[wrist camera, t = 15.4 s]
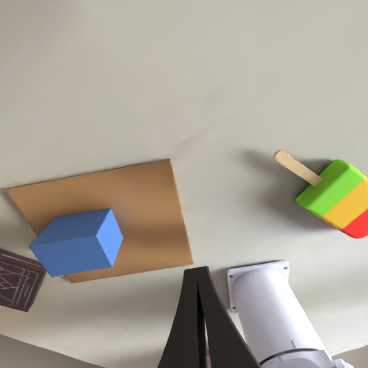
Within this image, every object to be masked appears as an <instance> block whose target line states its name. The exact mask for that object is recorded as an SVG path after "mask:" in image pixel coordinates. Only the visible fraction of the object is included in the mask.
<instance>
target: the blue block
mask: <svg viewBox="0 0 368 368" xmlns="http://www.w3.org/2000/svg"><path fill="white" fill-rule="evenodd" d="M122 239H123V236H122V233H121V231H120V229H119V226H118V224H117V222H116V219H115V217H114V214H113V212H112V210H111V208H110V209H104V210H98V211H93V212H87V213H81V214H75V215H69V216H64V217H58V218H55V219H54V220H53V221H52V222H51V223H50V224H49V225H48V226H47V227H46V228H45V229H44V231H43V232H42V233H41V234H40V235H39V236H38V237H37V238H36V239H35V240H34V241H33V242H32V243H31V244H30V245H29V248H30V249H31V250H32V252H33V253H34V254H35V256H36V257H37V258H38V260H39V261H40V262H41V264H42V265H43V266H44V268H45V269H46V270H47V272H48V273H49V274H50V276H51V277H54V276H60V275H66V274H73V273H79V272H85V271H92V270H98V269H104V268H111V267H113V265H114V262H115V259H116V256H117V253H118V250H119V248H120V245H121V242H122Z"/></svg>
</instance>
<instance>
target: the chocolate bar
mask: <svg viewBox="0 0 368 368" xmlns="http://www.w3.org/2000/svg"><path fill="white" fill-rule="evenodd" d="M46 272H47V270H46V269H45V268H44V266H43V265H42V264H41V262H37V261H34V260H31V259H28V258H25V257H22V256H19V255H16V254H13V253H10V252H7V251H4V250H1V249H0V305H1V306H5V307H9V308H13V309H17V310H21V311H25V312H28V310H29V309H30V307H31V306H32V304H33V302H34V300H35V297H36V295H37V293H38V291H39V288H40V286H41V284H42V281H43V279H44V277H45V275H46Z"/></svg>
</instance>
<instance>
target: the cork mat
mask: <svg viewBox="0 0 368 368" xmlns="http://www.w3.org/2000/svg"><path fill="white" fill-rule="evenodd" d="M6 191H7V193H8V194H9V196H10V197H11V198H12V200H13V201H14V203H15V204H16V206H17V207H18V208H19V210H20V211H21V213H22V214H23V215H24V217H25V218H26V220H27V221H28V223H29V224H30V225H31V227H32V228H33V230H34V231H35V233H36V234H37V235H38V236H39V235H40V234H41V233H42V232H43V231H44V229H45V228H46V227H47V226H48V225H49V224H50V223H51V222H52V221H53V220H54V219H55V218H58V217H64V216H69V215H75V214H81V213H87V212H93V211H98V210H104V209H110V208H111V210H112V212H113V214H114V217H115V219H116V222H117V224H118V226H119V229H120V231H121V233H122V236H123V239H122V242H121V245H120V248H119V250H118V253H117V256H116V259H115V262H114V265H113V267H111V268H104V269H98V270H92V271H85V272H79V273H73V274H66V277H67V278H68V279H69V281H70V282H71V283H77V282H83V281H90V280H96V279H102V278H109V277H115V276H121V275H127V274H134V273H140V272H146V271H153V270H159V269H165V268H172V267H178V266H184V265H191V264H193V259H192V254H191V250H190V245H189V241H188V236H187V232H186V227H185V223H184V218H183V214H182V209H181V205H180V200H179V196H178V191H177V187H176V182H175V178H174V173H173V169H172V164H171V160H170V159H166V160H161V161H156V162H150V163H145V164H139V165H134V166H128V167H123V168H118V169H112V170H107V171H101V172H96V173H90V174H85V175H79V176H74V177H69V178H63V179H58V180H52V181H47V182H41V183H36V184H30V185H25V186H20V187H14V188H9V189H6Z"/></svg>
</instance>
